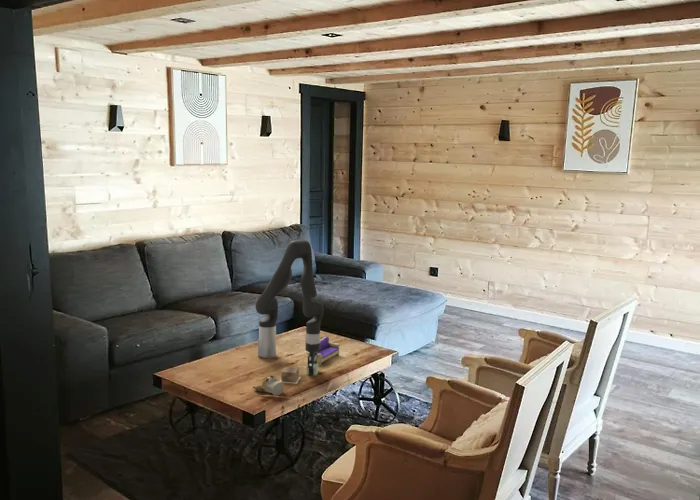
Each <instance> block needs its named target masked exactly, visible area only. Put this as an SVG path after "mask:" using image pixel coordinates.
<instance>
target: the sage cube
mask: <svg viewBox="0 0 700 500" xmlns="http://www.w3.org/2000/svg"><path fill="white" fill-rule="evenodd" d="M310 366H312V364H310ZM318 373H319V366H318V364H314V368H313V375H312V376H317V375H318ZM306 375H307V376H310V375H309V368H308V364H307V365H306Z"/></svg>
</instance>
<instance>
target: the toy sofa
mask: <svg viewBox="0 0 700 500" xmlns="http://www.w3.org/2000/svg"><path fill="white" fill-rule="evenodd" d="M340 346H341V345H340V343H336V342H330V338H329V336H324V337H322V339H320V351H318V360H317V364H318V367H319V366H320V367H321V366H322V364H323V362H325V361H327V360H329V359H330V358H332V357H335V356H340ZM309 353H310V352H308V351H306V355H307V356H308V355H309Z"/></svg>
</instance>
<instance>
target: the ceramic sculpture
mask: <svg viewBox="0 0 700 500" xmlns="http://www.w3.org/2000/svg"><path fill="white" fill-rule="evenodd" d="M284 384H285V383H283V382H279V381H278V379H277V378H276V376H274V375H270V376H268V377H265V378H264V379H263V380H262V383H261V385H260V384H259V385H257V386H252V388H253V389H254V390H255V391H257V392H260V393H263V392H265V393H270V394H272V395H273V397H274V396H275V397H278V396H280V395H282V394H283V392H284V389H285V385H284Z"/></svg>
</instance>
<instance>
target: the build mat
mask: <svg viewBox="0 0 700 500" xmlns="http://www.w3.org/2000/svg"><path fill="white" fill-rule="evenodd" d="M300 379H301V376H299V378H298V379H297V381H296V383H292V382H283V384H295V385H296V384H297V385H298V383H299V381H300ZM278 382H281V379H280V380H279V381H278Z"/></svg>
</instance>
